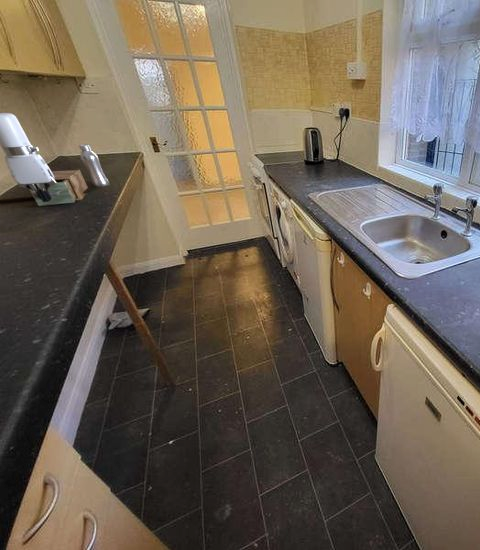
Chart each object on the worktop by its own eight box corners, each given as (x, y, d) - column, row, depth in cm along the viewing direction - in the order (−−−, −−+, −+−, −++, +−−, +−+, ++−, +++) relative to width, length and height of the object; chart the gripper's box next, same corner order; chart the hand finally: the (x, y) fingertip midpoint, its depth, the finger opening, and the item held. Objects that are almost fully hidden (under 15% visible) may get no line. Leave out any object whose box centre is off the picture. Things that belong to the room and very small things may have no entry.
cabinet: (81, 199, 131) (70, 176, 126) (44, 203, 126) (30, 179, 121) (89, 191, 142) (79, 169, 137) (55, 194, 137) (43, 172, 132)
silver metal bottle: (96, 191, 143) (76, 146, 133) (94, 188, 147) (73, 145, 136) (113, 188, 147) (94, 145, 137) (109, 186, 151) (91, 143, 140)
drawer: (71, 205, 122) (60, 185, 118) (34, 209, 117) (21, 188, 113) (82, 194, 136) (73, 175, 131) (50, 197, 131) (39, 177, 127)
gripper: (50, 148, 113) (74, 196, 123) (-4, 151, 107) (25, 200, 117) (42, 151, 107) (68, 201, 117) (-15, 154, 101) (17, 206, 111)
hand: (47, 200), depth 117 cm, fingers closed
